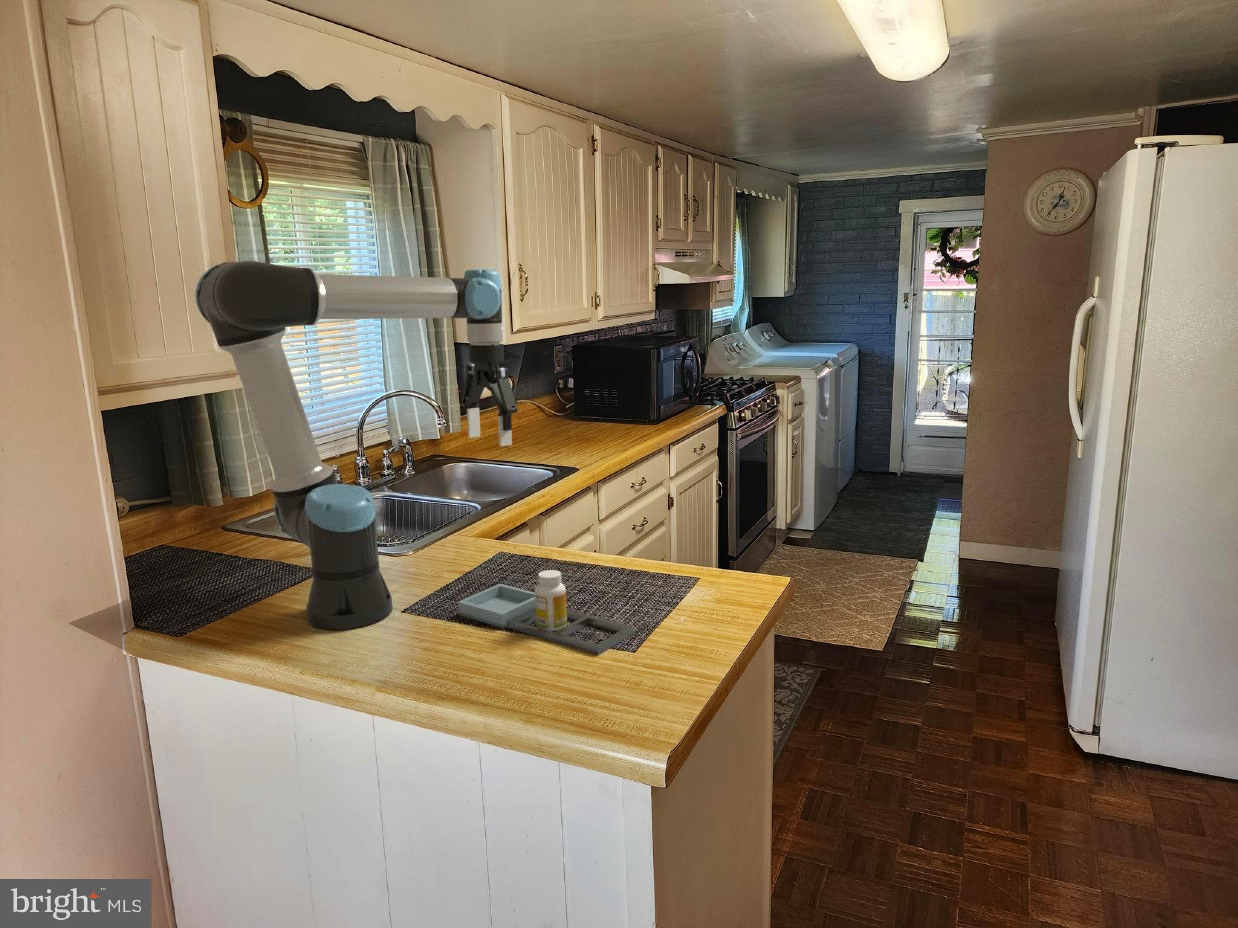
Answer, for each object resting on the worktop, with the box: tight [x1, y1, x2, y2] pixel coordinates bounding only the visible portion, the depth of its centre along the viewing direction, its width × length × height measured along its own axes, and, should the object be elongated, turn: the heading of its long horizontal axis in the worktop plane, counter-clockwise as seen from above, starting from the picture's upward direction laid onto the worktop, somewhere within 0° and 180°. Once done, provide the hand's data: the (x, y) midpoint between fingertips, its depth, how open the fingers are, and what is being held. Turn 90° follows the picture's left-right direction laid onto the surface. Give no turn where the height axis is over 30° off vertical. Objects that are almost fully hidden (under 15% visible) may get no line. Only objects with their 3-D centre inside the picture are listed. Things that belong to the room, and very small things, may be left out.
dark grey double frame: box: [506, 608, 634, 655], centre depth 147 cm, size 10×20×1 cm, turn 55°
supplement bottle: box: [534, 569, 568, 632], centre depth 148 cm, size 5×5×10 cm
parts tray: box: [457, 583, 536, 629], centre depth 156 cm, size 11×11×3 cm
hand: (489, 441), depth 185 cm, fingers open, 13 cm apart
